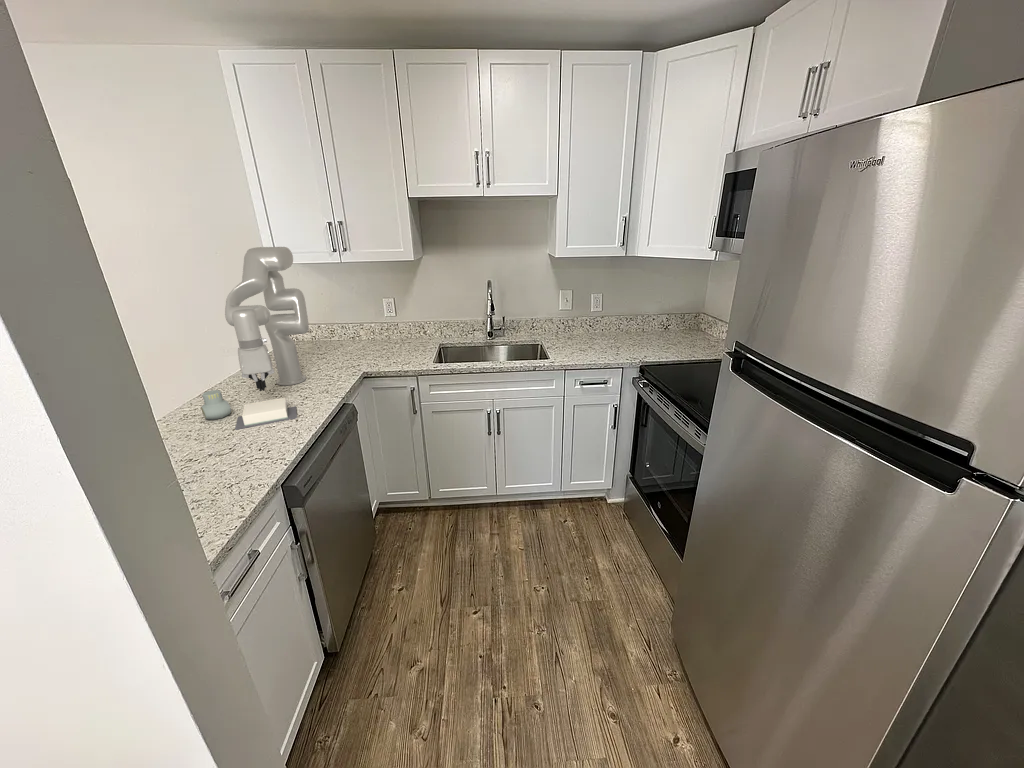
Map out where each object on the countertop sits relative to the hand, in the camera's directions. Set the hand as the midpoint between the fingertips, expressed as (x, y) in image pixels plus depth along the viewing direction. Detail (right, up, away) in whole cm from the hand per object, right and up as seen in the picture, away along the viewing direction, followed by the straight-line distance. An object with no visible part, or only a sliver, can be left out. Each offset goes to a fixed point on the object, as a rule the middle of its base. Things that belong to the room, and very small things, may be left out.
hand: (262, 389), depth 161 cm
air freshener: (-18, -11, +1) cm, 21 cm away
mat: (+3, -11, -1) cm, 11 cm away
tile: (-1, -6, +4) cm, 7 cm away
